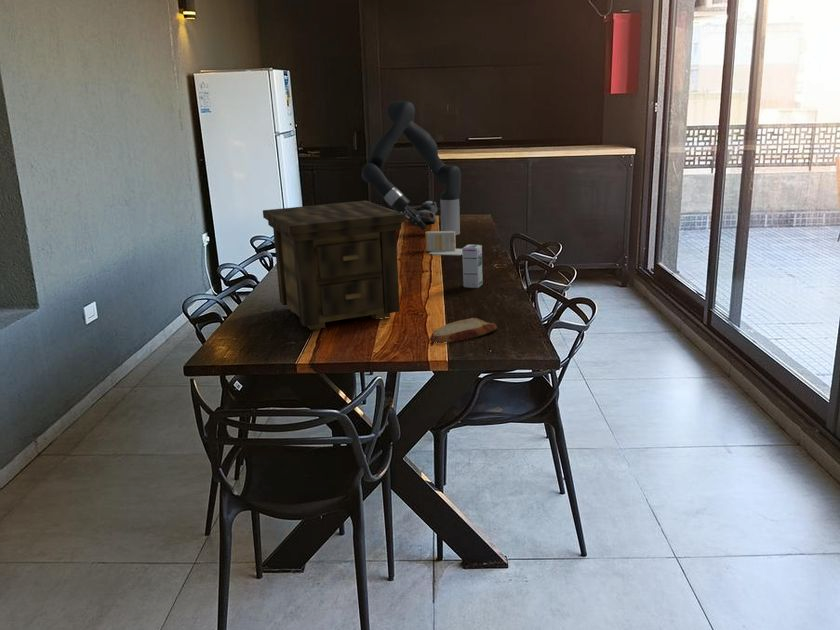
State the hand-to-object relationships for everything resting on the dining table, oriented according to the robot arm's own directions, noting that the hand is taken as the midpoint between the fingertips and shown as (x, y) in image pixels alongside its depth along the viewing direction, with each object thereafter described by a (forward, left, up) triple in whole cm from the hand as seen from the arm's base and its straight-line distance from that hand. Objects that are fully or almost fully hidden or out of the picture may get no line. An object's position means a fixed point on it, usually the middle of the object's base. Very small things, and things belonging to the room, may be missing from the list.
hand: (424, 228), depth 318 cm
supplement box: (-1, 0, -6) cm, 6 cm away
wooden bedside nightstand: (+95, -4, -11) cm, 96 cm away
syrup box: (+55, +32, -11) cm, 64 cm away
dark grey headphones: (-72, -20, -11) cm, 76 cm away
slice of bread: (+109, +40, -11) cm, 117 cm away
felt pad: (0, +12, -10) cm, 16 cm away
